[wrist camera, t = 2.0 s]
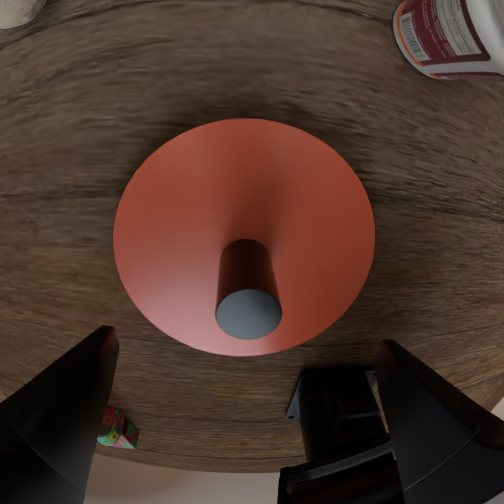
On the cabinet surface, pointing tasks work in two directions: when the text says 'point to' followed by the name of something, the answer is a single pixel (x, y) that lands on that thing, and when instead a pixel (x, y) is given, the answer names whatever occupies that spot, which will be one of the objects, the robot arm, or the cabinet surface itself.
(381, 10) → the cabinet surface
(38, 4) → the decorative stone
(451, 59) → the pill bottle
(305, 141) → the lid
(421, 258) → the cabinet surface
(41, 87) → the cabinet surface
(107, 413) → the block
